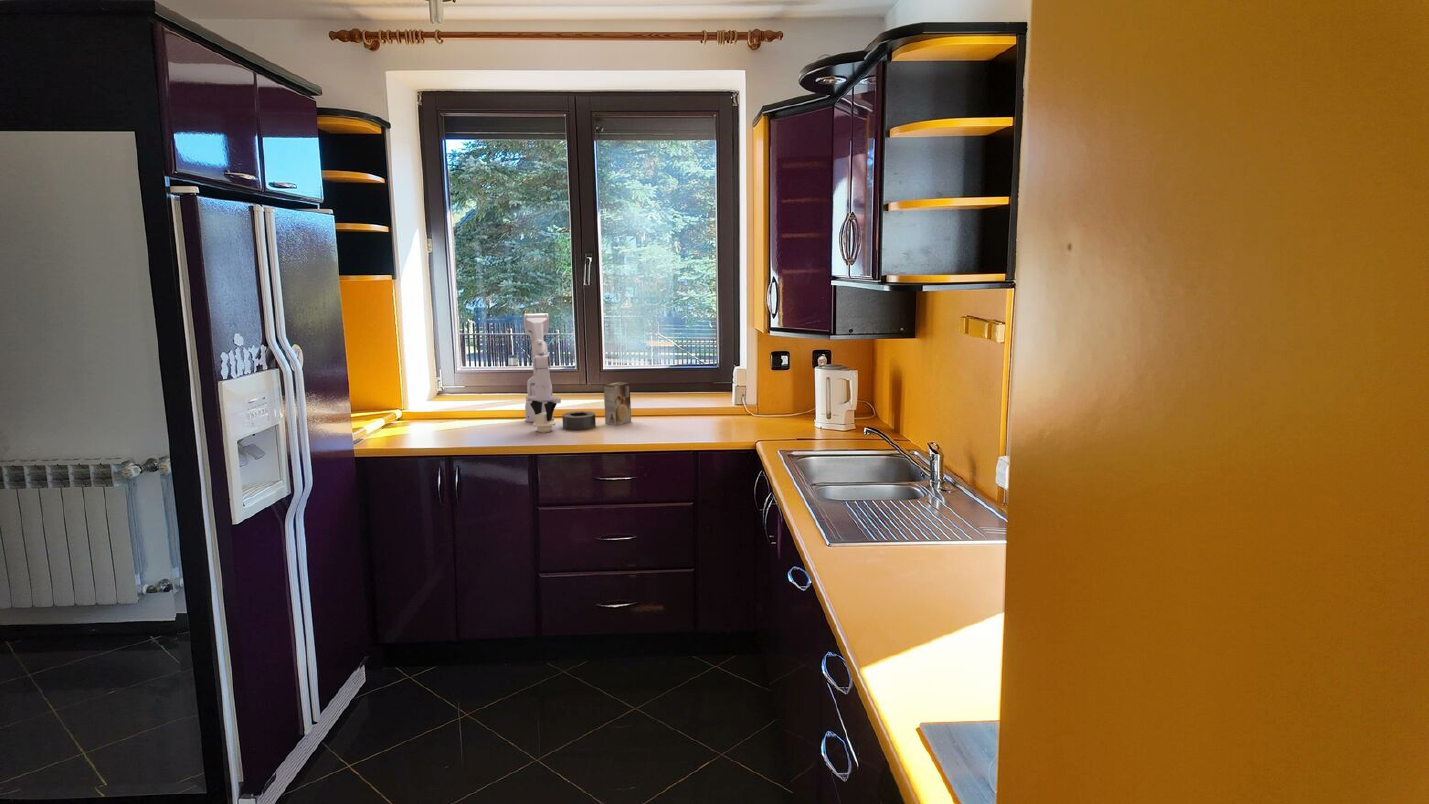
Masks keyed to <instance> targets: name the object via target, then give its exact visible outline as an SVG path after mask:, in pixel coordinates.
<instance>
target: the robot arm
mask: <svg viewBox="0 0 1429 804" xmlns="http://www.w3.org/2000/svg"><path fill="white" fill-rule="evenodd" d="M523 327H524V333H525V335H527V336H529V338H530V340H531V353H532V354H531V355H532V371H533V375H532V376H531V377H530V378H529V379H527V385H526V387H527V388H526V389H527V396H525V405H524V413H525V419H524V422H527V423H528V422H530V423H534V422H536V421H535V415H536V414H539V413H542V412H546V415H547V421H551V420H552V415H553V413H554V412H555V408H556V407H557V405H558V404H561V403H562V399H561V397H556V396H553V385H552V380H551V378H550V377H551V375H550V374H551V373H550V372H551V371H550V370H551V357H550V354H549V350H548V343H547V342H546V341H544V336H545V335H547V334H548V332H549V328H550V318H549V313H547V312H546V313H524V314H523ZM553 420H555V418H554V417H553Z"/></svg>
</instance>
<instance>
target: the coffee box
mask: <svg viewBox="0 0 1429 804" xmlns="http://www.w3.org/2000/svg"><path fill="white" fill-rule="evenodd" d="M603 399H604V400H603V401H604V404H603V405H604V423H605V424H606V425H613V426H618V425H622V424H623V425H624V424H626V423H630V422H632V409H631V408H632V406H631V402H632V401H631V383H630V382H623V381H616V382H612V383H607V384H603Z"/></svg>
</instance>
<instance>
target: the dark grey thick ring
mask: <svg viewBox="0 0 1429 804" xmlns="http://www.w3.org/2000/svg"><path fill="white" fill-rule="evenodd" d="M561 417H562V429H564V430H566V431H585V430H591V429H592V430H593V429H594V428H597V427H596V426H597V425H596V423H597V422H596V412H593V411H588V410H587V411H586V410H578V411H569V412H564V413H562V415H561Z"/></svg>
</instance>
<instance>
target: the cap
mask: <svg viewBox="0 0 1429 804" xmlns="http://www.w3.org/2000/svg"><path fill="white" fill-rule="evenodd" d="M553 418H554V417H553V415H552V420H551V421H547V415H546V412H542V413H539V414H536V415H535V421H536V422H532V423H533V426H534V427H537V432H538V433H549V432H552V431H553V427H554V426H555V425H556V421H555V420H554V419H553Z"/></svg>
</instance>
